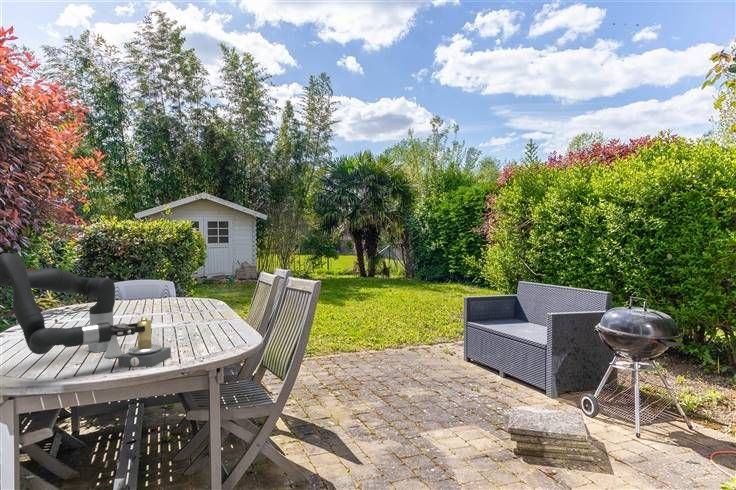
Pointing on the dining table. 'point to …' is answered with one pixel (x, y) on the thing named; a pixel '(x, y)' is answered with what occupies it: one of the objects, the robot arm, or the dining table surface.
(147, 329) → the brass weight
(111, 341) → the flask
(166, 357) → the base
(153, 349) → the scale pan
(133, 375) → the dining table surface
